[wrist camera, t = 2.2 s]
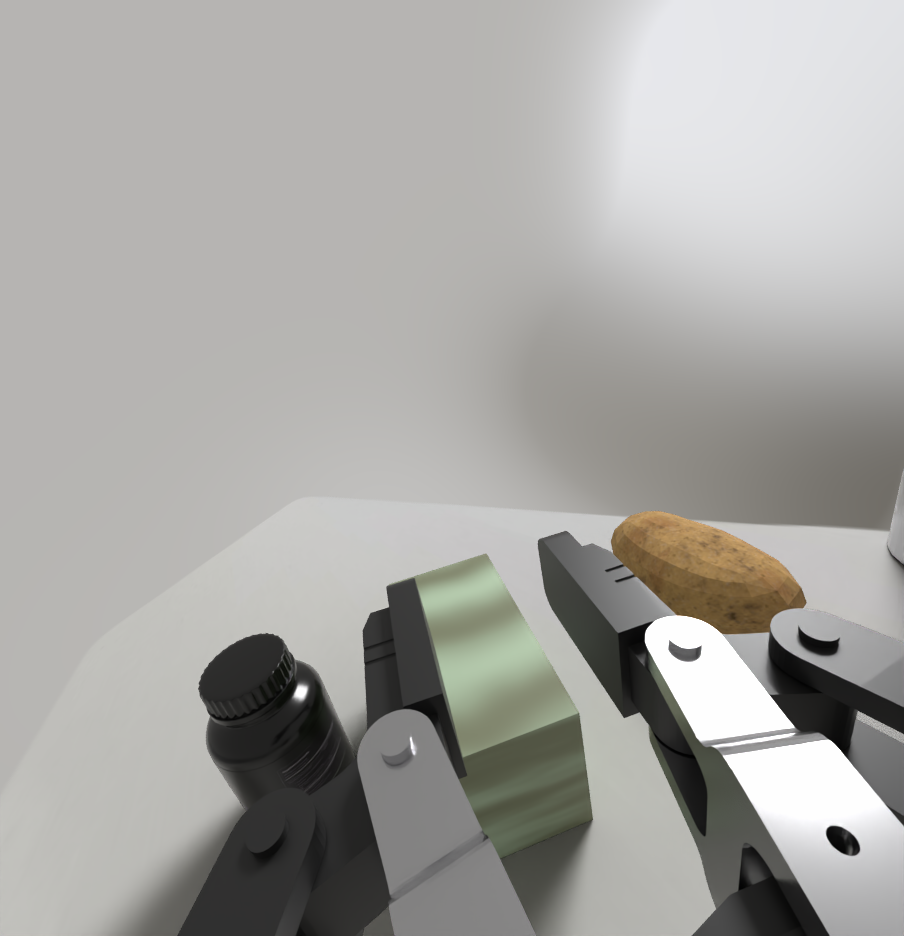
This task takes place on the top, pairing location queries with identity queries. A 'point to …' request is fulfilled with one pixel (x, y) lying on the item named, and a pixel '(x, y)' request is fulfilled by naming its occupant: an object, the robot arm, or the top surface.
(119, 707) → the top surface
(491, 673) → the sage-green block
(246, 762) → the supplement bottle
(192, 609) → the top surface
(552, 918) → the top surface
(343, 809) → the robot arm
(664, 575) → the potato
